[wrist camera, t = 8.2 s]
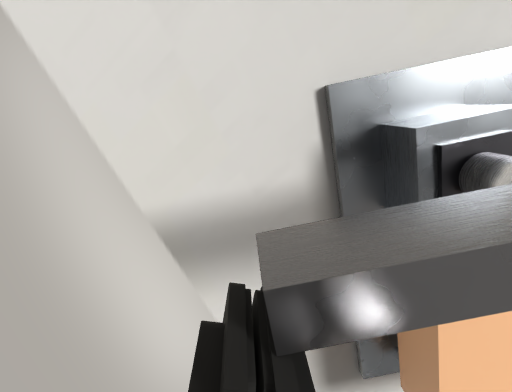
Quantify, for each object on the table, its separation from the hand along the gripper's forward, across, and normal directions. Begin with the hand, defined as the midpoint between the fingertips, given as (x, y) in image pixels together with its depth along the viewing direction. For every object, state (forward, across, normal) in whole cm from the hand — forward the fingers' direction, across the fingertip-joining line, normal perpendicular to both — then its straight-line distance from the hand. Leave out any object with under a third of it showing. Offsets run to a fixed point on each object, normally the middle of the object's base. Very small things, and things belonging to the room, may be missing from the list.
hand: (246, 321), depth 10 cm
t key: (+3, -5, -4) cm, 8 cm away
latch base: (+8, -11, -1) cm, 14 cm away
